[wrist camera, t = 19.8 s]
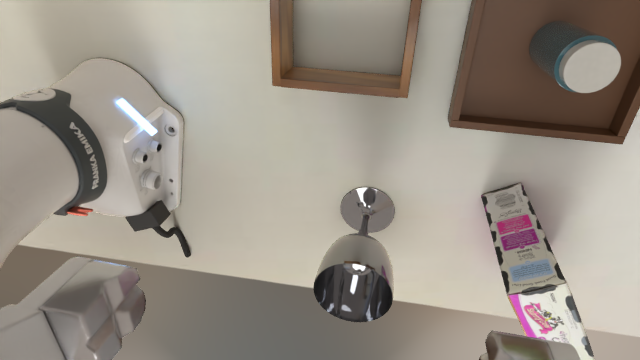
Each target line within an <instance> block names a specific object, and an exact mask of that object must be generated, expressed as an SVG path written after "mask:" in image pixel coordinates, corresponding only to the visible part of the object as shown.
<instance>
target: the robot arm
mask: <svg viewBox="0 0 640 360" xmlns="http://www.w3.org/2000/svg"><path fill="white" fill-rule="evenodd" d="M171 127H173V128H174V130H175V131H174V130H173V129H172V128H171ZM183 128H184V121H183V117H182V116H181V114H180V113H179V112H178V111H176V110H175V109H174V108H172V107H171V106H170V105H168V104H167V103H165V102H164V101H163V100H162V99H161V98H160V97H159V95H158V94H157V93H156V92H155V90H154V89H153V88H152V86H151V85H150V84H149V83H148V82H147V81H146V80H145V79H144V78H143V77H142V76H141V75H140V74H138V73H137V72H136V71H134V70H133V69H131V68H130V67H128V66H126V65H124V64H122V63H120V62H117V61H114V60H110V59H104V58H96V59H90V60H87V61H84V62H82V63H81V64H79V65H78V66H77V67H76V68H75V69H74V70H73V71H72V72H71V73H70V74H68V75H67V76H66V77H64V78H63V79H61V80H60V81H58V82H56V83H55V84H53V85H51V86H49V87H47V88H44V89H37V90H32V91H29V92H25V93H22V94H19V95H16V96H14V97H12V99H9V100H6V101H4V102H1V103H0V268H1V267H2V265H3V263H4V261H5V260H6V258H7V256H8V255H9V253H10V252H11V251H12V250H13V248H14V247H15V246H16V245H17V244H18V243H19V242H20V241H21V240H22V239H23V238H24V237H26V236H27V235H28V234H29V233H30V232H31V231H32V230H33V229H35V228H36V227H37V226H38V225H39V224H41V223H42V222H43V221H44V220H46V219H47V218H48V217H49V216H51V215H52V214H57V215H64V216H66V215H67V214H73V215H80V216H87V215H88V214H87V213H86V212H95V213H99V214H104V215H110V216H127V217H126V219H127V221H128V222H129V224H130V225H131V227H132V228H133V230H134V231H140V230H144V229H148V228H153V229H154V230H155V231H156V232H157V233H158V234H159V235H161V236H163V237H166V238H169V237H171V236H172V235H173V234H176V235H177V237H178V239H179V241H180V243H181V246H182V249H183V252H184V254H185V256H186V257H189V256H191V253H190V251H189V249H188V246H187V243H186V240H185V238H184V236H183V234H182V232H181V231H180V230H179V229H178V228H175V227H173V228H171V229H170V230H169V231H168V232H167V231H165V230H163V229H162V228H161V227H160V225H161V224H162V223H163V222H164V221H165V220H166V218H167V217H168V216H169V215H170V212H169V211H171V210H174V209H175V208H177V207H178V206H179V205H180V201H181V178H182V153H183ZM78 206H80V207H78ZM139 280H140V277H139V274H138V271H137V269H136V268H133V267H129V266H124V265H120V264H114V263H110V262H104V261H100V260H94V259H89V258H84V257H79V256H76V257H74V258H71V259H69V260H68V261H66V262H65V263H64V264H63V265H62V266H61V267H60V268H58V269H57V270H56V271H55V272H54V273H53V274H51V275H50V276H49V277H48V278H47V279H46V280H45V281H43V282H42V283H41V284H40V285H39V286H38V287H37V288H35V289H34V290H33V291H32V292H31V293H30V294H29V295H27V296H26V297H25V298H24V299H23V300H22V301H21V302H19V303H18V304H17V305H12V304H10V305H7V306H5V307H3V308H0V360H112V359H113V358H114V357H115V355H116V354H117V353H118V351H119V350H120V349H121V347H122V337H124V336H126V335H128V334H129V333H131V332H133V331H134V330H135V328H136V327H137V326H138V324H139V323H140V321H141V319H142V316H143V314H144V311H145V304H146V300H145V295H144V292H143V291H142V290H141V289H140V288H139V287H138V286H137V285H136V284H137V283H138V281H139ZM485 343H486V349H487V353H485V354H483V355H481V356H480V358H479V360H581V359H580V357H579V355H578V352H577V350H576V349H575V348H574V346H573V345H572V344H567V343H561V342H556V341H550V340H542V339H540V338H534V337H528V336H522V335H516V334H510V333H503V332H498V331H491V332H490V333H489V334H488V337H487V339H486V342H485Z"/></svg>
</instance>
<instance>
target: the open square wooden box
mask: <svg viewBox="0 0 640 360" xmlns="http://www.w3.org/2000/svg"><path fill="white" fill-rule="evenodd" d="M421 3H422V0H411V5H410V12H409V19H408V27H407V34H406V42H405V49H404V57H403V64H402V71H401V76H399V75H387V74H375V73H363V72H351V71H338V70H326V69H314V68H302V67H293V0H270V20H271V52H272V85H273V86H281V87H287V88H298V89H308V90H319V91H330V92H341V93H352V94H363V95H374V96H385V97H396V98H398V97H401V98H407V97H408V91H409V84H410V77H411V71H412V64H413V57H414V50H415V43H416V37H417V30H418V23H419V16H420V9H421Z"/></svg>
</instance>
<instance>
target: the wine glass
mask: <svg viewBox="0 0 640 360" xmlns="http://www.w3.org/2000/svg"><path fill="white" fill-rule="evenodd" d="M341 214H342V217H343V218H344V220H345V221H346V223H347V224H348V225H350V226H351V227H352V228H354V229H356V230H358V231H359V232H358V234H356V233H355V234H349V235H346V236H343V237H341V238H339V239H338V240H336V241H335V242H334V243H333V244H332V245H331V247H330V248H329V249H328V251H327V252H326V254H325V256H324V258H323V259H322V261H321V263H320V266H319V269H318V271H317V275H316V278H315V282H314V293H315V297H316V299H317V301H318V302H319V304H320V305H321V306H322V307H323V308H324V309H325V310H326V311H327V312H329V313H330V314H332V315H334V316H336V317H338V318H340V319H343V320H346V321H352V322H367V321H372V320H375V319H378V318H379V317H381V316H383V315H384V314H385V313H386V312H387V311H388V310H389V308H390V307H391V305H392V300H393V291H394V279H393V270H392V265H391V261H390V258H389V255H388V253H387V251H386V249H385V248H384V246H383V245H382V244H381V243H380V242H379V241H377V240H376V239H374V238H373V237H371V236H368V232H371V233H372V232H377V231H381V230H383V229H385V228H386V227H387V226H388V225H389V224H390V223H391V222H392V220H393V218H394V214H395V209H394V205H393V203H392V201H391V199H390V198H389V197H388V196H387V195H386V194H385V193H383V192H382V191H380V190H378V189H375V188H370V187H361V188H357V189H354V190H352V191H350V192H349V193H348V194H346V195H345V197H344V198H343V200H342V202H341Z"/></svg>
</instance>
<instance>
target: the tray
mask: <svg viewBox="0 0 640 360" xmlns="http://www.w3.org/2000/svg"><path fill="white" fill-rule="evenodd" d="M554 21H567V22H570V23H572V24H575V25H577V26H579V27H582V28H584V29H587V30H589V31H591V32H594V33H596V34H598V35H601V36H603V37H606V38H608V39H609V40H611V41H612V42H613V43H614V44H615V46H616V48H617V50H618V52H619V54H620V57H621V66H620V70H619V72H618V74H617V76H616V77H615V78H614V80H613V81H612V82H611V83H610V84H608V85H607V86H606V87H604V88H602V89H600V90H598V91H595V92H591V93H579V92H571V91H568V90H565V89H564V88H562V87H561V86H560V85H559V84H558V83H556V82H555V81H554V80H553V79H552V78H551V77H550V76H548V75H547V74H546V73H545V72H544V71H543V70H542V69H540V68H539V67H538V66H537V65H536V64H535V63H534V62H533V61H532V60H531V58H530V55H529V46H530V42H531V40H532V38H533V36H534V35H535V33H536V32H537V31H538V30H539V29H540V28H542V27H543V26H545V25H546V24H548V23H551V22H554ZM639 107H640V0H472V3H471V8H470V13H469V18H468V22H467V27H466V32H465V37H464V42H463V47H462V51H461V56H460V61H459V66H458V71H457V76H456V81H455V85H454V90H453V95H452V100H451V105H450V110H449V114H448V121H449V126H450V127H456V128H466V129H476V130H486V131H496V132H505V133H515V134H525V135H535V136H545V137H555V138H565V139H575V140H584V141H594V142H604V143H614V144H623V142H624V140H625V137H626V135H627V133H628V131H629V129H630V127H631V124H632V122H633V120H634V118H635V116H636V113H637V111H638V109H639Z"/></svg>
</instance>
